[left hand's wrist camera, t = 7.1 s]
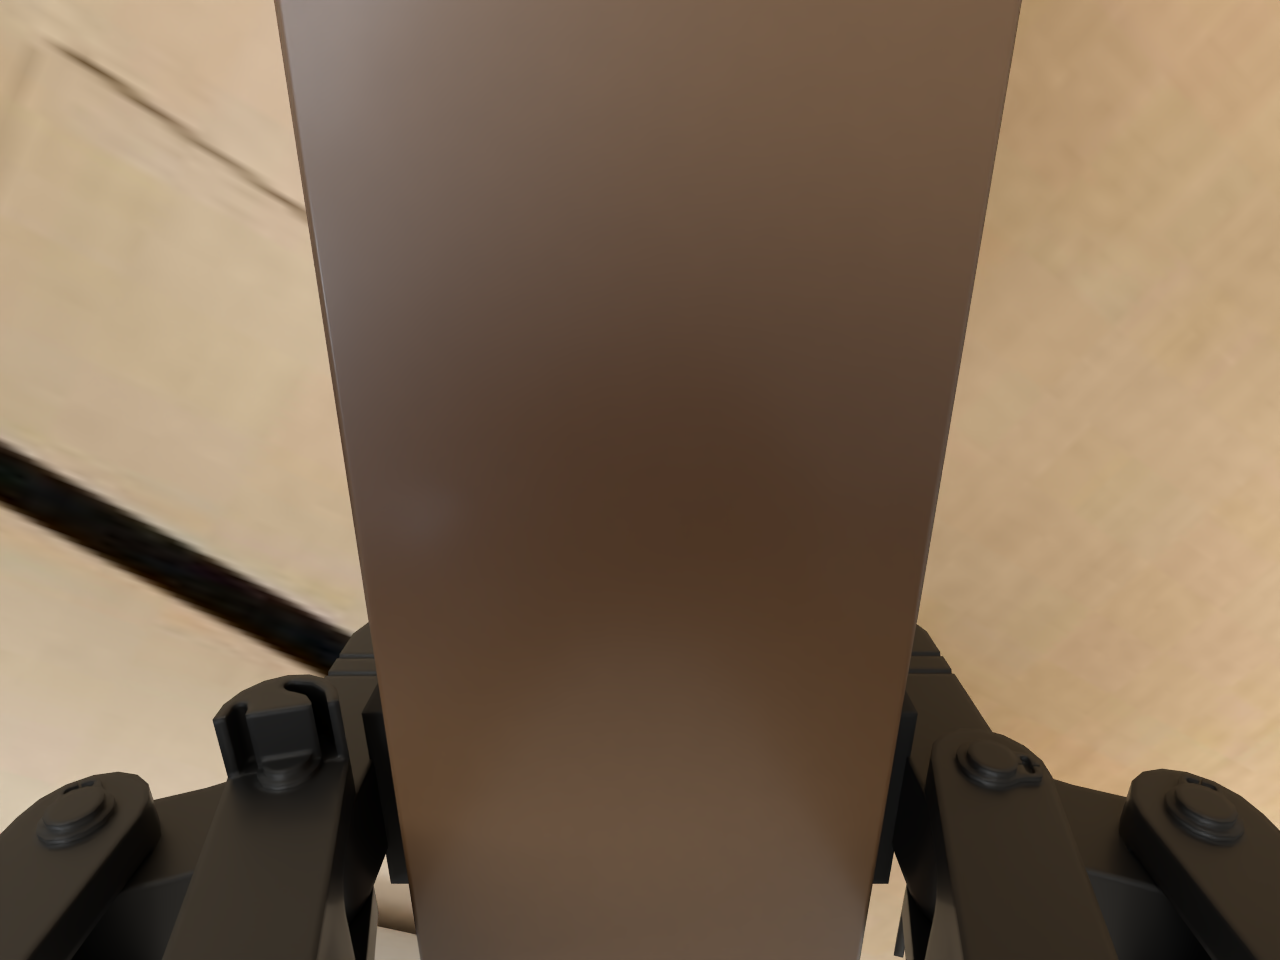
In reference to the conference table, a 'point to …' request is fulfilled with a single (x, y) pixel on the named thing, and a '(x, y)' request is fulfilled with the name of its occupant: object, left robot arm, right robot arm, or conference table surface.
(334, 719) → the left robot arm
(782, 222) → the beam
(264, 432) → the conference table surface
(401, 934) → the projector
